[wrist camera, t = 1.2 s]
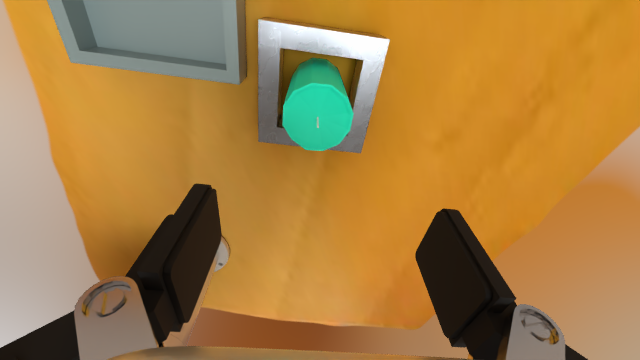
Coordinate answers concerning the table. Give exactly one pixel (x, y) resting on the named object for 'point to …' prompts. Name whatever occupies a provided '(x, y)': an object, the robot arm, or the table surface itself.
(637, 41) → the table surface
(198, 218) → the robot arm
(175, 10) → the tray
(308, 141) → the candle
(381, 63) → the holder
